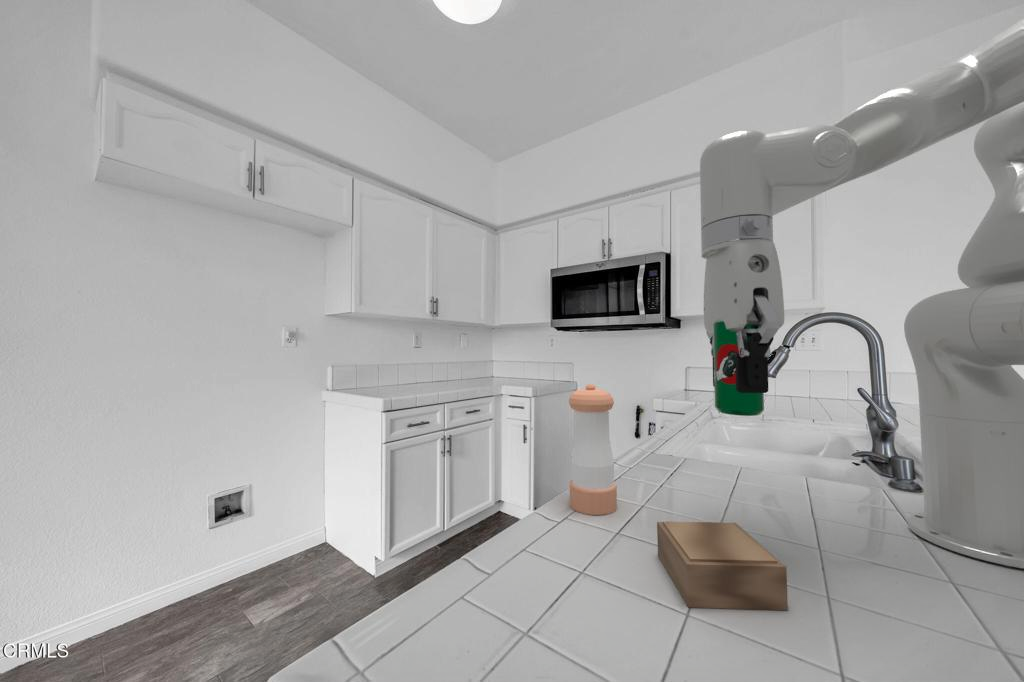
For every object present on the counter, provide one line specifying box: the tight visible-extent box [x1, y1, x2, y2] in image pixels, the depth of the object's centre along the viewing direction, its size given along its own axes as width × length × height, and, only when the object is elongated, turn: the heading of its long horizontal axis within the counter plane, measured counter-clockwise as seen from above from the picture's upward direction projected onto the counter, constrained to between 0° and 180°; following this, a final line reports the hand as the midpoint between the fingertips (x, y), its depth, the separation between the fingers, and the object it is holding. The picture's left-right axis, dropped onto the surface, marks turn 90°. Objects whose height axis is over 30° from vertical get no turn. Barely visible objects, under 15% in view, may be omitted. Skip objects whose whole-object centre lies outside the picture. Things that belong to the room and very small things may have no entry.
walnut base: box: [656, 521, 789, 611], centre depth 40 cm, size 9×9×4 cm
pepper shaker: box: [568, 383, 618, 516], centre depth 59 cm, size 7×7×19 cm
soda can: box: [713, 319, 765, 417], centre depth 45 cm, size 5×5×12 cm
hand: (738, 388), depth 45 cm, fingers closed on soda can, 5 cm apart
